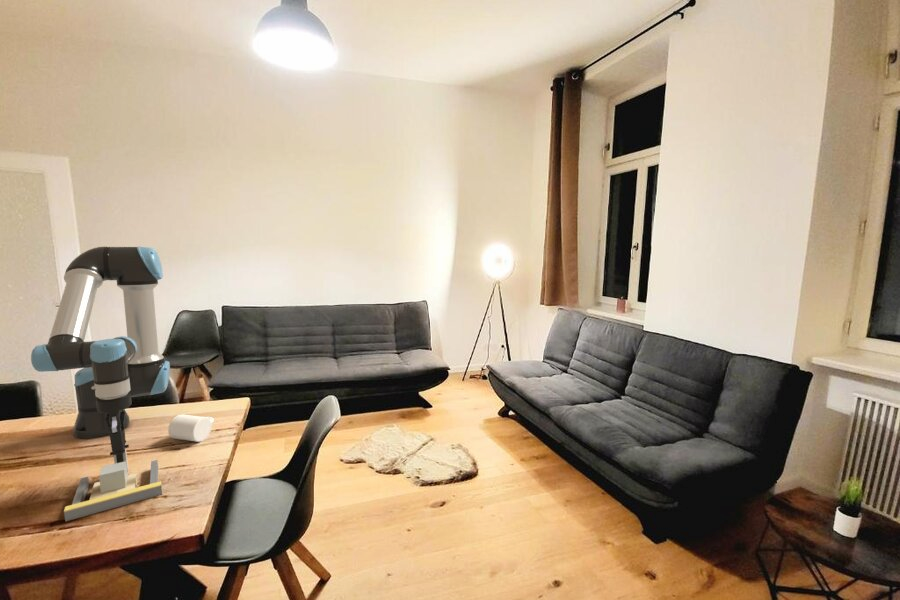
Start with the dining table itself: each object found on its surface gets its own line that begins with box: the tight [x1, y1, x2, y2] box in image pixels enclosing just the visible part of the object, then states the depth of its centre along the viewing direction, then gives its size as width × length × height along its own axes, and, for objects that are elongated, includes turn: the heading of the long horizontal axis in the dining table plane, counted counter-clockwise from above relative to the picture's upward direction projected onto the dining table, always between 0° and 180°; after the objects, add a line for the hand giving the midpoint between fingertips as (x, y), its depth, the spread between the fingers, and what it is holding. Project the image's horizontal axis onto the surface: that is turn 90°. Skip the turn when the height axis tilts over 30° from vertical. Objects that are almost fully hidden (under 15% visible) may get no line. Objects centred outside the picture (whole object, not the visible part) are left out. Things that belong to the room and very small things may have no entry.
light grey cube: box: [98, 461, 128, 493], centre depth 107 cm, size 5×5×5 cm
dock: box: [63, 459, 163, 522], centre depth 108 cm, size 16×19×3 cm
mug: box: [167, 413, 215, 443], centre depth 139 cm, size 12×10×8 cm
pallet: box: [89, 472, 138, 500], centre depth 107 cm, size 9×9×3 cm
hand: (122, 472), depth 116 cm, fingers closed
